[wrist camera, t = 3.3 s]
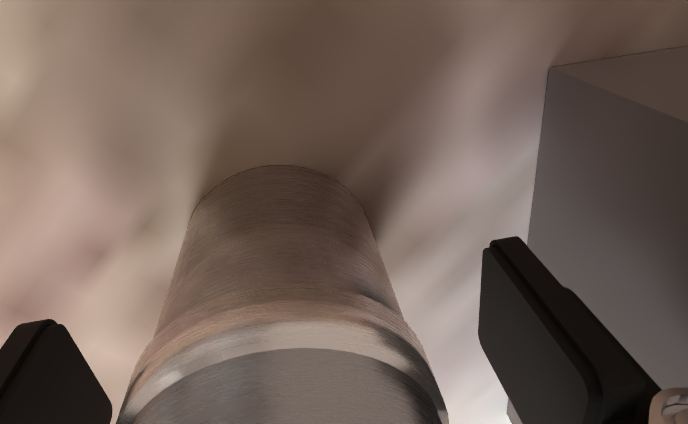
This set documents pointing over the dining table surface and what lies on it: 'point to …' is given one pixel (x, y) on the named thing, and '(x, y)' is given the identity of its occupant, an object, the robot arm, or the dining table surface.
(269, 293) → the lens
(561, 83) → the grey ring-socket block
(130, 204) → the dining table surface
